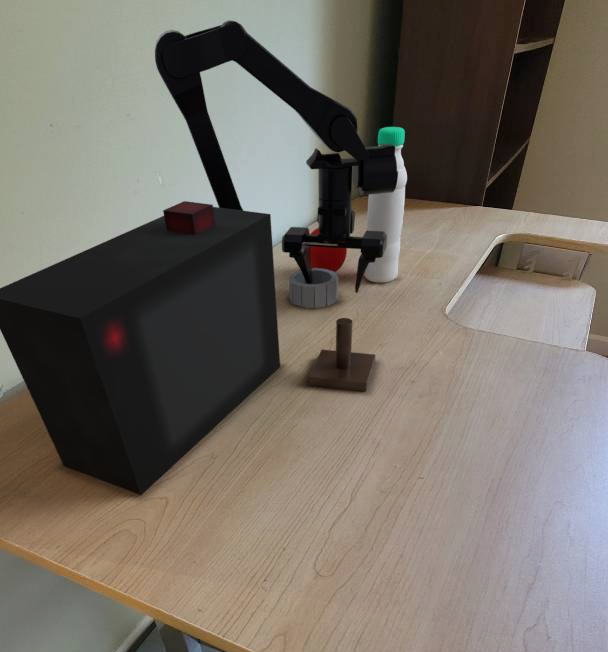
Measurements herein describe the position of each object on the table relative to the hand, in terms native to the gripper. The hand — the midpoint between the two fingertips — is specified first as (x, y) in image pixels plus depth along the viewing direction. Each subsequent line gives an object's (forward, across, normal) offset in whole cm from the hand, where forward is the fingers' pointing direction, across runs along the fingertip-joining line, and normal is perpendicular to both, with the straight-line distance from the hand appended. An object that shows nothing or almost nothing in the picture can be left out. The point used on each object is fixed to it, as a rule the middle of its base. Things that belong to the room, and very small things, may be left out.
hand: (333, 290), depth 101 cm
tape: (+2, +4, 0) cm, 4 cm away
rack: (+2, -8, +28) cm, 29 cm away
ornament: (+2, +5, -13) cm, 14 cm away
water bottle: (+2, -7, -13) cm, 15 cm away
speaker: (+2, +14, +43) cm, 45 cm away
